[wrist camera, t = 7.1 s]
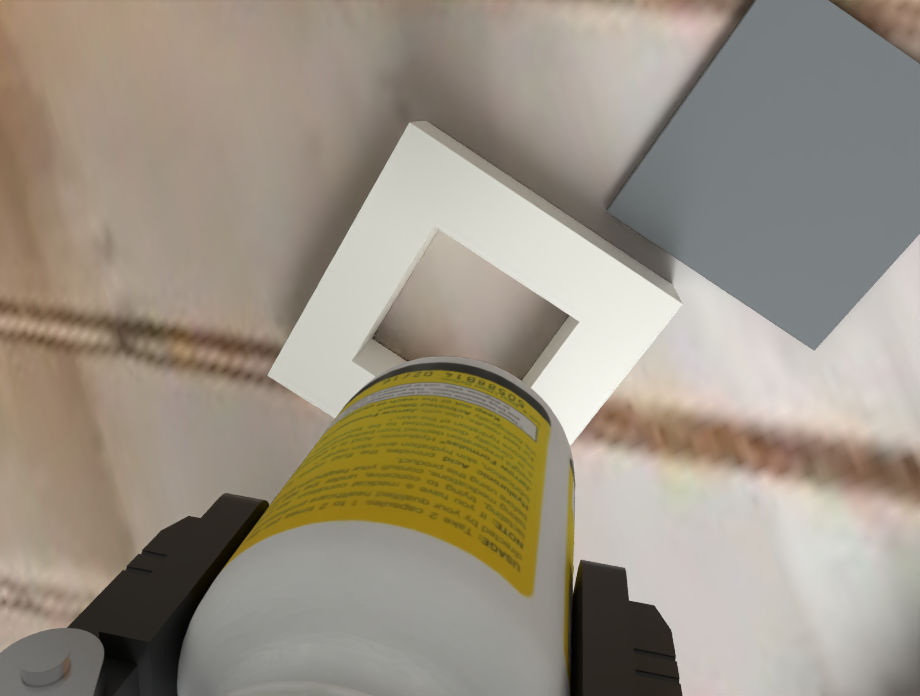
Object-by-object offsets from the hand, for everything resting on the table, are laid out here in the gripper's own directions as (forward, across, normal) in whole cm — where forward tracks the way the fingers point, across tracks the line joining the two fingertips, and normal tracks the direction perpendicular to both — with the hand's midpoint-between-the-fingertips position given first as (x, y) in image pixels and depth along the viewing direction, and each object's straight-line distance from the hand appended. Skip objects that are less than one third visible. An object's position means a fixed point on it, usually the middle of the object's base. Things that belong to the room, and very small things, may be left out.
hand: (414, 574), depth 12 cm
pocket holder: (+19, +2, +2) cm, 19 cm away
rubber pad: (+19, -10, -6) cm, 23 cm away
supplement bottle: (+4, 0, 0) cm, 4 cm away
